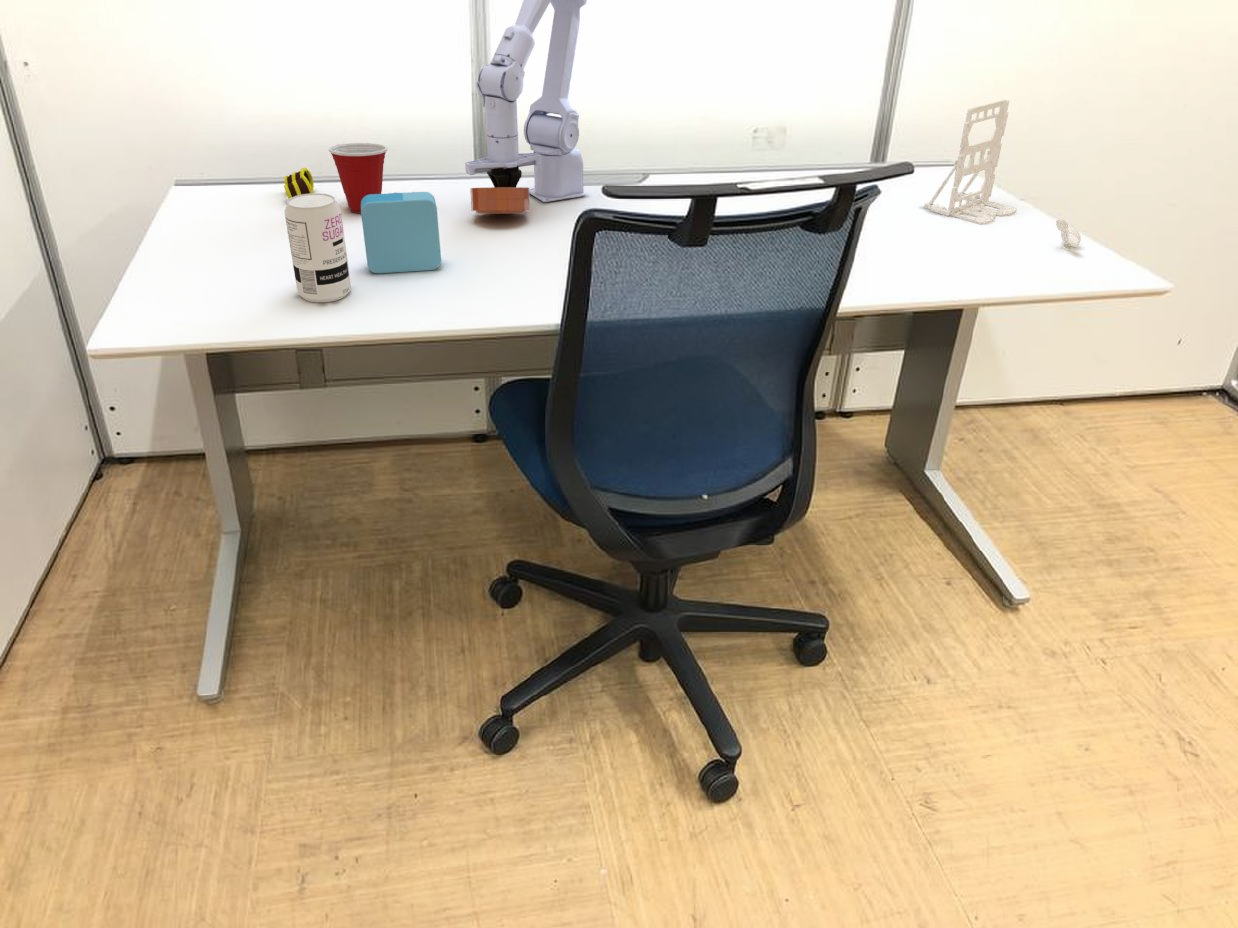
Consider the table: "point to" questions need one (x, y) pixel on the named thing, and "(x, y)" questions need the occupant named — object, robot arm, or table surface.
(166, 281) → the table surface
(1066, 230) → the rabbit figurine
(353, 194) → the plastic cup
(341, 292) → the supplement can
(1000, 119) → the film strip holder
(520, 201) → the bowl
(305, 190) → the opera glasses
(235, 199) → the table surface
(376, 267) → the light blue rounded block
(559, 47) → the robot arm
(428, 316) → the table surface
